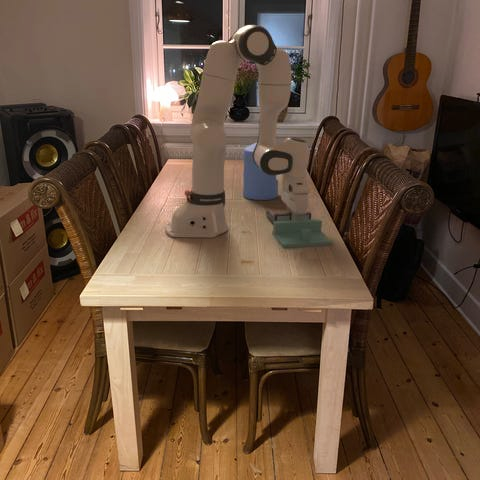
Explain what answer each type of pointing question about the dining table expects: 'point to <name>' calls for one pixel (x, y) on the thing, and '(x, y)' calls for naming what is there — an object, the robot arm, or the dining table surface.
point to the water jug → (257, 179)
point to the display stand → (300, 233)
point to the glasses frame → (286, 216)
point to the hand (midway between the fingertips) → (292, 219)
